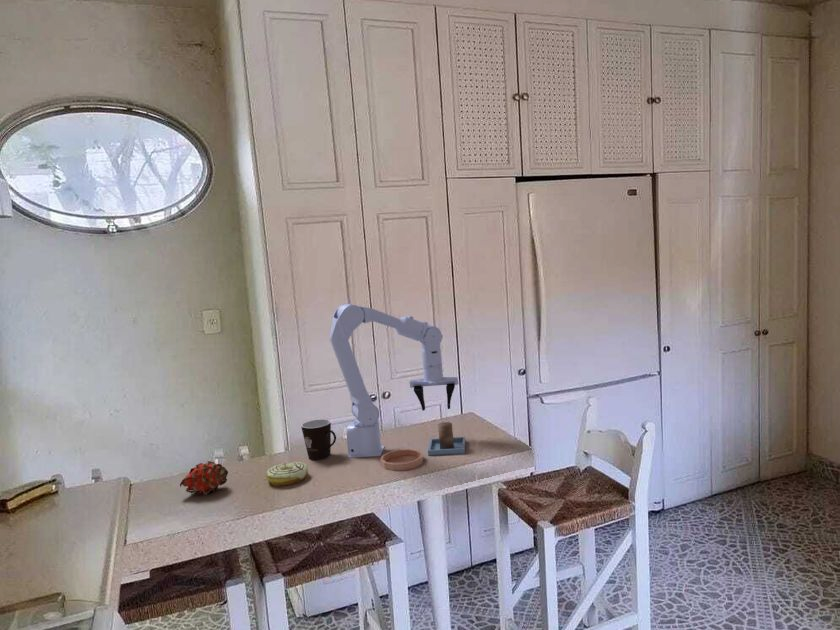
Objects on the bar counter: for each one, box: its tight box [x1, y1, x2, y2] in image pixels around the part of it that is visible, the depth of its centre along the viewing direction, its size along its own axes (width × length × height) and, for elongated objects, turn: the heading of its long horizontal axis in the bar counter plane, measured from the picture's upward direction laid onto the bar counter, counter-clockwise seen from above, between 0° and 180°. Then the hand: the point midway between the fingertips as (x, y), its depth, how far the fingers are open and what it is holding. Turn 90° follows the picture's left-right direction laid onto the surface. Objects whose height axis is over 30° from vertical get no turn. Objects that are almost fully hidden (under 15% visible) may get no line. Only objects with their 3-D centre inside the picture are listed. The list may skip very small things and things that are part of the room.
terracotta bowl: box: [379, 448, 424, 471], centre depth 158 cm, size 11×11×2 cm
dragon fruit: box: [179, 460, 229, 496], centre depth 150 cm, size 8×8×12 cm
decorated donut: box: [266, 461, 309, 487], centre depth 154 cm, size 10×11×4 cm
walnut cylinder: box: [437, 421, 454, 449], centre depth 165 cm, size 4×4×7 cm
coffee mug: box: [300, 418, 337, 461], centre depth 168 cm, size 12×9×10 cm
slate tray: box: [427, 436, 466, 457], centre depth 165 cm, size 10×10×2 cm
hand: (436, 408), depth 175 cm, fingers open, 7 cm apart
